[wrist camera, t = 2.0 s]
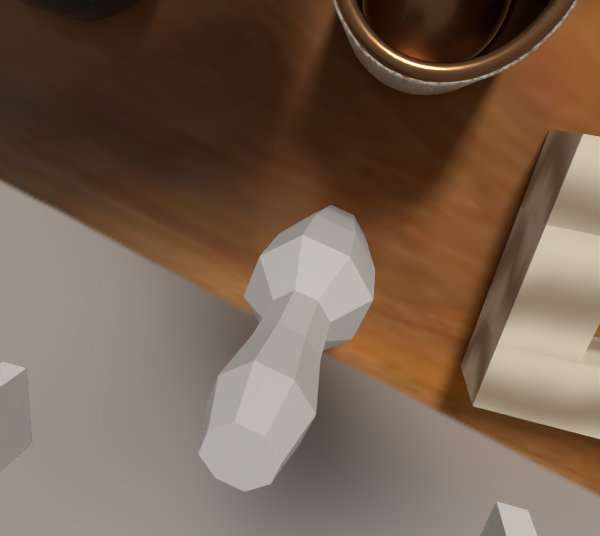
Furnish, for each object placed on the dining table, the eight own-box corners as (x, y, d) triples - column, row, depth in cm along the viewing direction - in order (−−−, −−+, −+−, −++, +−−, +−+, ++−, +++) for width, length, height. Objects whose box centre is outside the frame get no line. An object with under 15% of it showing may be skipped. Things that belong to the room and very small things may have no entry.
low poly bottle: (274, 237, 33) (94, 443, 13) (330, 176, 30) (219, 309, 10) (334, 292, 33) (255, 572, 13) (393, 236, 31) (407, 474, 11)
